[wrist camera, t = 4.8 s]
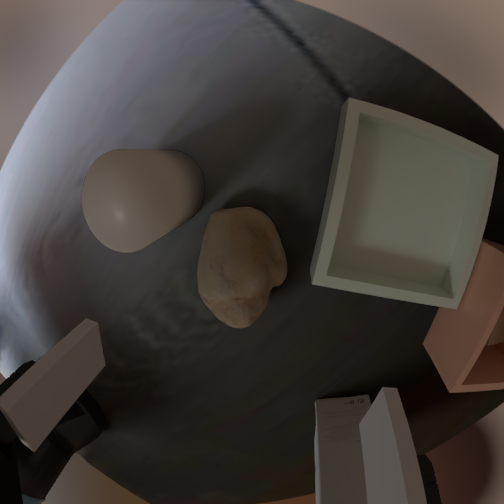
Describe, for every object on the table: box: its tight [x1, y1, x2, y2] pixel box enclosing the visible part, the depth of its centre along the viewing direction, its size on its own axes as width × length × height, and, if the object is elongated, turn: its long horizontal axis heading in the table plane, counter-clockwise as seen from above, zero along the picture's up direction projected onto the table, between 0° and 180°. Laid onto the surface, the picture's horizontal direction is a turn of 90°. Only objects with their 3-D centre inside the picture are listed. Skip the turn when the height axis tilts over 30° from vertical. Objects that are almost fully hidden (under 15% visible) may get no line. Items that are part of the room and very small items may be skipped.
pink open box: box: [423, 238, 504, 393], centre depth 17 cm, size 11×11×7 cm
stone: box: [197, 207, 287, 328], centre depth 21 cm, size 7×6×8 cm
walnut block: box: [486, 306, 504, 346], centre depth 18 cm, size 4×4×4 cm
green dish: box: [310, 98, 499, 309], centre depth 18 cm, size 12×12×3 cm
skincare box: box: [314, 395, 371, 504], centre depth 20 cm, size 8×6×15 cm
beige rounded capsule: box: [82, 149, 205, 253], centre depth 18 cm, size 6×6×7 cm
